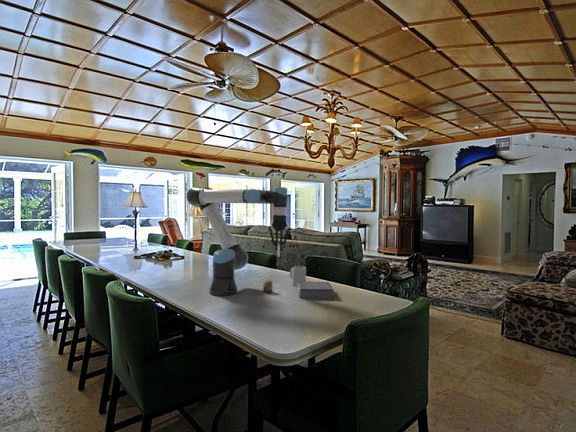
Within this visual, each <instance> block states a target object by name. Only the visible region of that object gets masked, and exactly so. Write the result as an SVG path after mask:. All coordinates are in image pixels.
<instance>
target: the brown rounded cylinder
mask: <svg viewBox="0 0 576 432" xmlns="http://www.w3.org/2000/svg"><path fill="white" fill-rule="evenodd" d="M262 286H263V293H264V294H271V293H273V280H268V279H267V280H263V285H262Z"/></svg>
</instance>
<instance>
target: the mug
mask: <svg viewBox="0 0 576 432" xmlns="http://www.w3.org/2000/svg"><path fill="white" fill-rule="evenodd" d="M289 277H290V279H291V285H292V286H293V287H297V288H298V283H299V282H307V281H306V280H307V267H306V266H302V265H296V266H294V265H293V266H292V268H290V271H289Z"/></svg>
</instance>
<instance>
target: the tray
mask: <svg viewBox="0 0 576 432" xmlns="http://www.w3.org/2000/svg"><path fill="white" fill-rule="evenodd" d="M297 293H298V298H300V299H301V288H300V285H299V283H298V287H297Z"/></svg>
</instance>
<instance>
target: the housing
mask: <svg viewBox="0 0 576 432" xmlns="http://www.w3.org/2000/svg"><path fill="white" fill-rule="evenodd" d="M299 285H300V288H301V298H300V299H303V300H305V299H306V300H307V299H308V300H309V299H310V300H311V299H312V300H316V299H317V300H323V299H324V300H334V288H333V286H332V285H331V284H330V282H329V281H306V282H299Z"/></svg>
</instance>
